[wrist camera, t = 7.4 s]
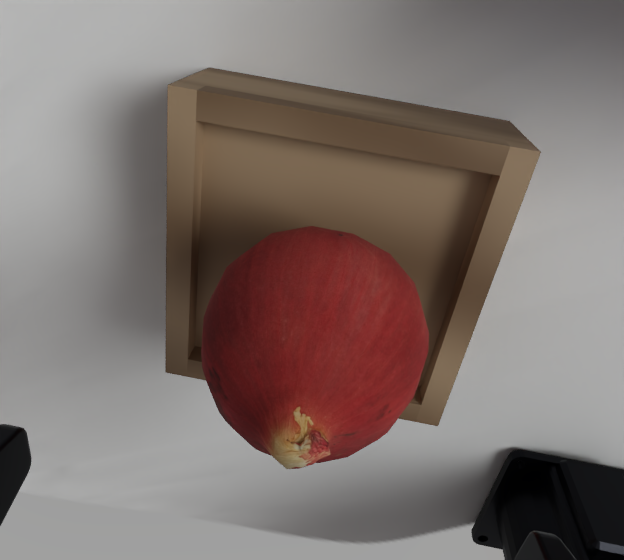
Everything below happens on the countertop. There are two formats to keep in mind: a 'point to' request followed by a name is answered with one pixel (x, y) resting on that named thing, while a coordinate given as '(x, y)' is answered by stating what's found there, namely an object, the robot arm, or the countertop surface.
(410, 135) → the wooden tray
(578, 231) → the countertop surface
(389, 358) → the onion
